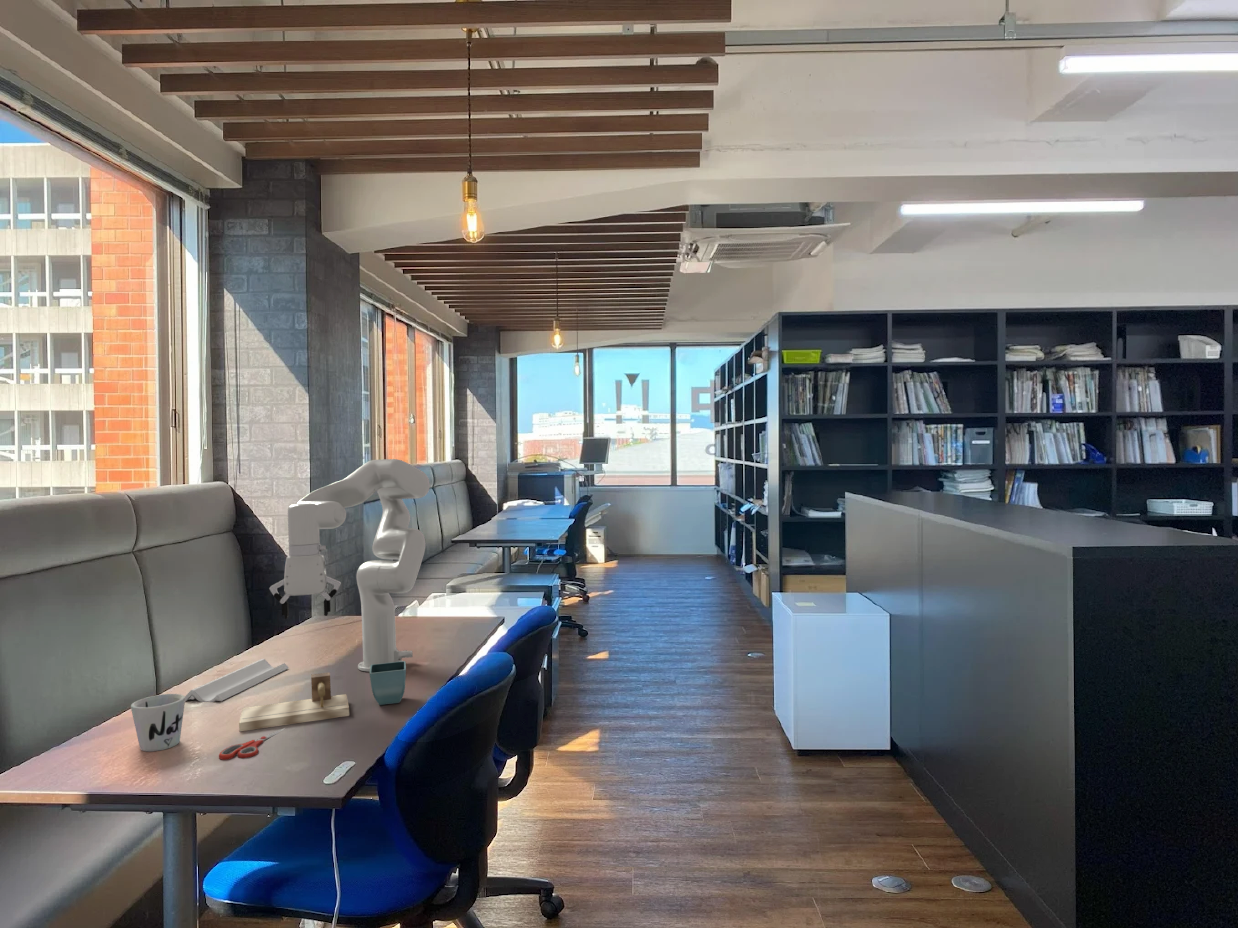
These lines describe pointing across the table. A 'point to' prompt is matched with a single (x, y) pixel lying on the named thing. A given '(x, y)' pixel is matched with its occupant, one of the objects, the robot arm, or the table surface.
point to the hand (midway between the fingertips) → (306, 616)
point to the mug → (158, 721)
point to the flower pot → (388, 682)
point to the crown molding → (235, 682)
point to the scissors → (245, 748)
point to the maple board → (292, 712)
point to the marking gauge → (321, 687)
